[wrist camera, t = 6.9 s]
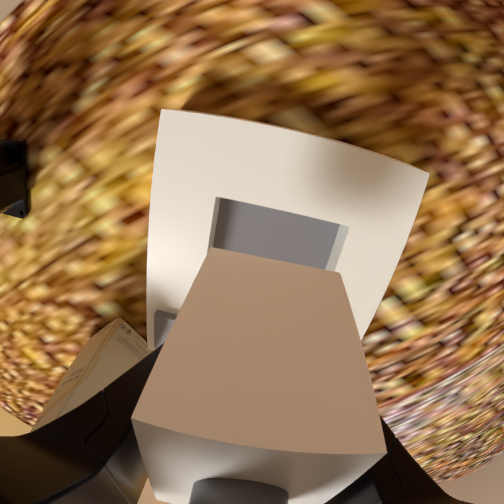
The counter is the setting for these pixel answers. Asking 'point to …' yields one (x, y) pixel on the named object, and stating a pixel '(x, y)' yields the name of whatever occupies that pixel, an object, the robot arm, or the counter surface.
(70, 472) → the robot arm
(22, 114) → the counter surface
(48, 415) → the skincare box
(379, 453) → the plug
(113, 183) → the counter surface
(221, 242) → the socket plate
